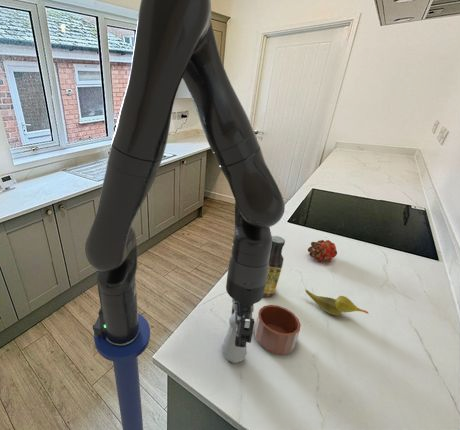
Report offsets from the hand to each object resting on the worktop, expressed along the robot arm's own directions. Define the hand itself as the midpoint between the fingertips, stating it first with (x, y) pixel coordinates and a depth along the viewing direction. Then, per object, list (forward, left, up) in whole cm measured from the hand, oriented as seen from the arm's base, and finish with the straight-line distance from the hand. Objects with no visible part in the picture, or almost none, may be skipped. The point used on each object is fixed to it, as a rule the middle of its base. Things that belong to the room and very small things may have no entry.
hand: (237, 329), depth 61 cm
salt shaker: (0, 0, -9) cm, 9 cm away
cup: (+11, +7, -9) cm, 16 cm away
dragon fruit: (+36, +47, -9) cm, 60 cm away
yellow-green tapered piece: (+29, +19, -9) cm, 36 cm away
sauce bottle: (+12, +25, -9) cm, 29 cm away
